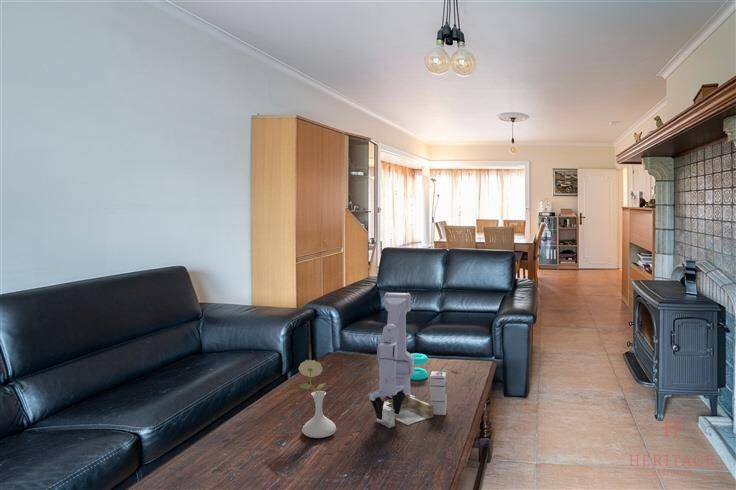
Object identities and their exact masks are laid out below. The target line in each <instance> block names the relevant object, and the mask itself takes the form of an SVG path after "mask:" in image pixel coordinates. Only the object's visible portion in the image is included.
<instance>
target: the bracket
mask: <svg viewBox="0 0 736 490" xmlns="http://www.w3.org/2000/svg"><path fill="white" fill-rule="evenodd" d="M395 421H396V420H395V416H394V409H393V408H392V403H389V402H384V405H383V410H382V420H379V419H378V418H377V417H376V423H379V424H381V425H383V426H385V427H386V428H388V429H390V428H393V427H395V426H396V424H395Z"/></svg>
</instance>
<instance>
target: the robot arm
mask: <svg viewBox="0 0 736 490" xmlns="http://www.w3.org/2000/svg"><path fill="white" fill-rule="evenodd" d="M383 306H384V308H385V311H387V321H386V325H384V327H383V329H382V334H381V339H380V343H379V344H377V348H376V357H377V364H378V366H379V367H378V369H379V378H378V379H379V382H378V383H379V384H378V385H379V389H377V390H374V391H373V392H371V393H369V396H368V397H369V401H370V403H371V404H372V406H373V409H374V412H375V417H376V419H377V418H378V419H379V420H382V410H383V405H384V401H385V400H384V401H383V400H382V399H381V398H384V397H389V399H390V398H391V399H393V409H394V413H396V414H399V412H400V408H401V404H402V402H403V400H404V398H405V395H409V396H411V397H413V398H416V396H415V395H414V394H413V395H412V394H411V379H410V376H412V375H413V373H414V368H415V365H414V361H413V355H411V354H412V353H410V352H409V351H407V323H406V322H407V319H406V318H407V317H406V316H407V313H408V312H411V310H412V295H411V294H410V292H407V293H406V292H388V291H387V292H385V294H384V297H383Z"/></svg>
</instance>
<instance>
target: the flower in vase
mask: <svg viewBox="0 0 736 490" xmlns="http://www.w3.org/2000/svg"><path fill="white" fill-rule="evenodd" d="M299 364H300V365H299V366H298V368H297V369H298V371H299V372H300V374H301V375H303V376H305V377H309V383H307V382H305V383H302V384H301V385H300V386H299V388H300V389H301V388H302V389H307V390H309V389H310V388H311V387H312V390H313V391H312V392H311V393H310V396H311V397H312V398H313V401H314V405H315V407H314V408H315V412H314V413H315V414H314V415H313V417H312V418H310V419H309V420H308V421H307V422H306V423H305V424H304V425H303V427H302V429H301V432H302V433H303V434H304V435H305V436H306V437H309V438H313V439H323V438H326V437H329V436H331V435H333V434H334V433H335V432H336V430H337V427H336V424H335V422H333V421H332V420H331V419H329V418H328V417H326V416H325V415H324V414H323V403H324V398H325V396H326V395H327V392H326V391H323V390H321V389H323V388H324V387H325V385H326V384H327V382H324V383H320V384H318V385H317V387H316V388H315V387H314V385H313V384H312V378H314V377H318V376H320V375H321V374H322V371H323V370H324V369H323V366H322V364H321V363H320V361H316V360H315V359H313V360H311V359H309V360H308V359H305V360H304V361H302V362H301V363H299Z"/></svg>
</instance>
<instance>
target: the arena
mask: <svg viewBox="0 0 736 490" xmlns="http://www.w3.org/2000/svg"><path fill="white" fill-rule="evenodd" d="M384 402H389V403H392V408H393V398H391V399H390V398H389V399H387V400H384ZM394 416H395V421H397V422H399V423H401V424H404V425H405V426H407V427H408V426H411V425H414V424H416V423H419V422H422V421H425V420H428V419H431V418H433V417H434V414H433V406H432V405H430V403H428V402H425V401H422V400H420V399H418V398H417V397H415V398H413V397H411V396H409V395H405V398H404V400H403V402H402V404H401V408H400V412H399V414H396V413H394Z"/></svg>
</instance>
